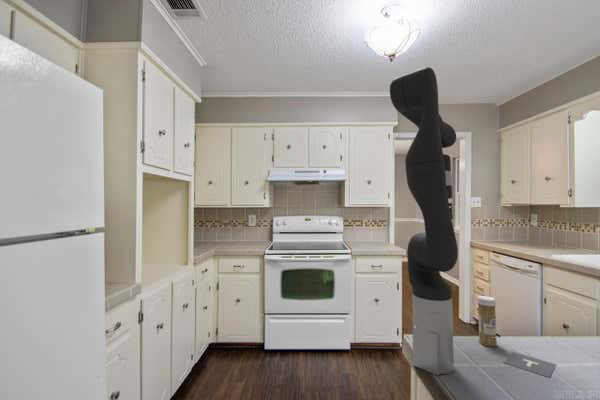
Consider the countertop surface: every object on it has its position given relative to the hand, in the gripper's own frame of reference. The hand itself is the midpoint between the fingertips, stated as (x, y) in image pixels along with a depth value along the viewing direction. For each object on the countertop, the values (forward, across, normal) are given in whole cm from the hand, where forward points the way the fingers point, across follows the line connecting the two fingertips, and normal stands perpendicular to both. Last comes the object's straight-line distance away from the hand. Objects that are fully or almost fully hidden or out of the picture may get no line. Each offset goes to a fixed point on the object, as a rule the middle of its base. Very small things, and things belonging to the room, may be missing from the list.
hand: (441, 232), depth 97 cm
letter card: (+32, +7, +24) cm, 41 cm away
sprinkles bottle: (+32, +2, +13) cm, 35 cm away
